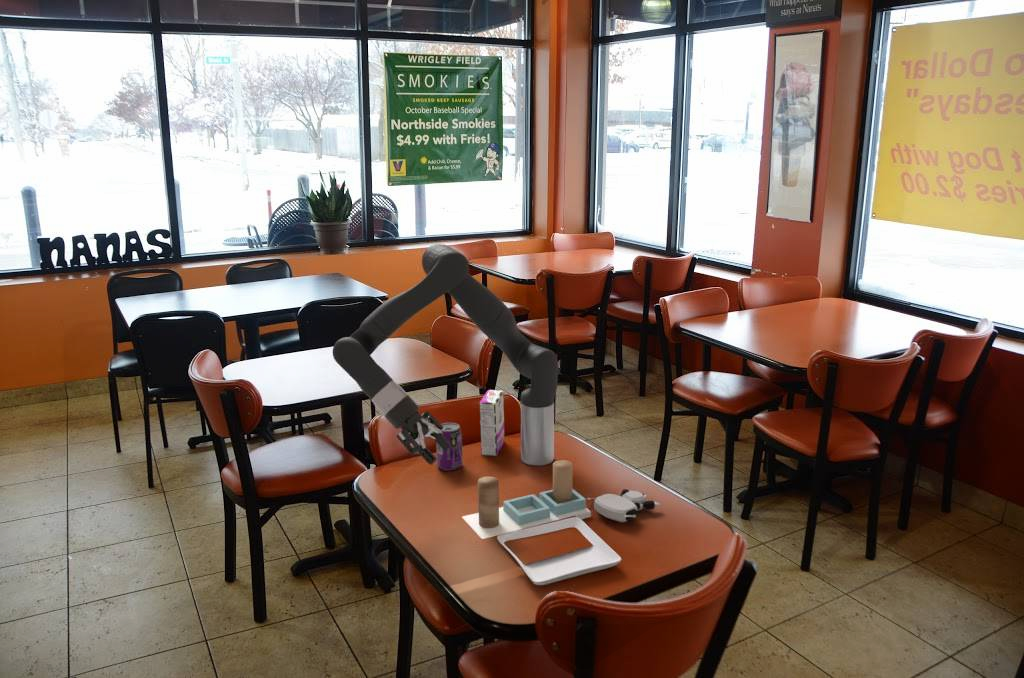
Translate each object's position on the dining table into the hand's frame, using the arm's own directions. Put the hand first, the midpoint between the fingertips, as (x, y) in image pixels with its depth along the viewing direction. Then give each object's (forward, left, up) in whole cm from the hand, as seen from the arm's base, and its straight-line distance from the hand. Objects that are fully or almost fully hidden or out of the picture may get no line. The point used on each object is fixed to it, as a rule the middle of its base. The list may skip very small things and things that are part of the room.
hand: (441, 455), depth 192 cm
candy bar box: (-35, +29, -18) cm, 49 cm away
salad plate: (+27, +16, -18) cm, 36 cm away
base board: (+8, +18, -17) cm, 27 cm away
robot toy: (+16, +41, -18) cm, 48 cm away
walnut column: (+8, +8, -16) cm, 20 cm away
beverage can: (-29, +13, -18) cm, 36 cm away
